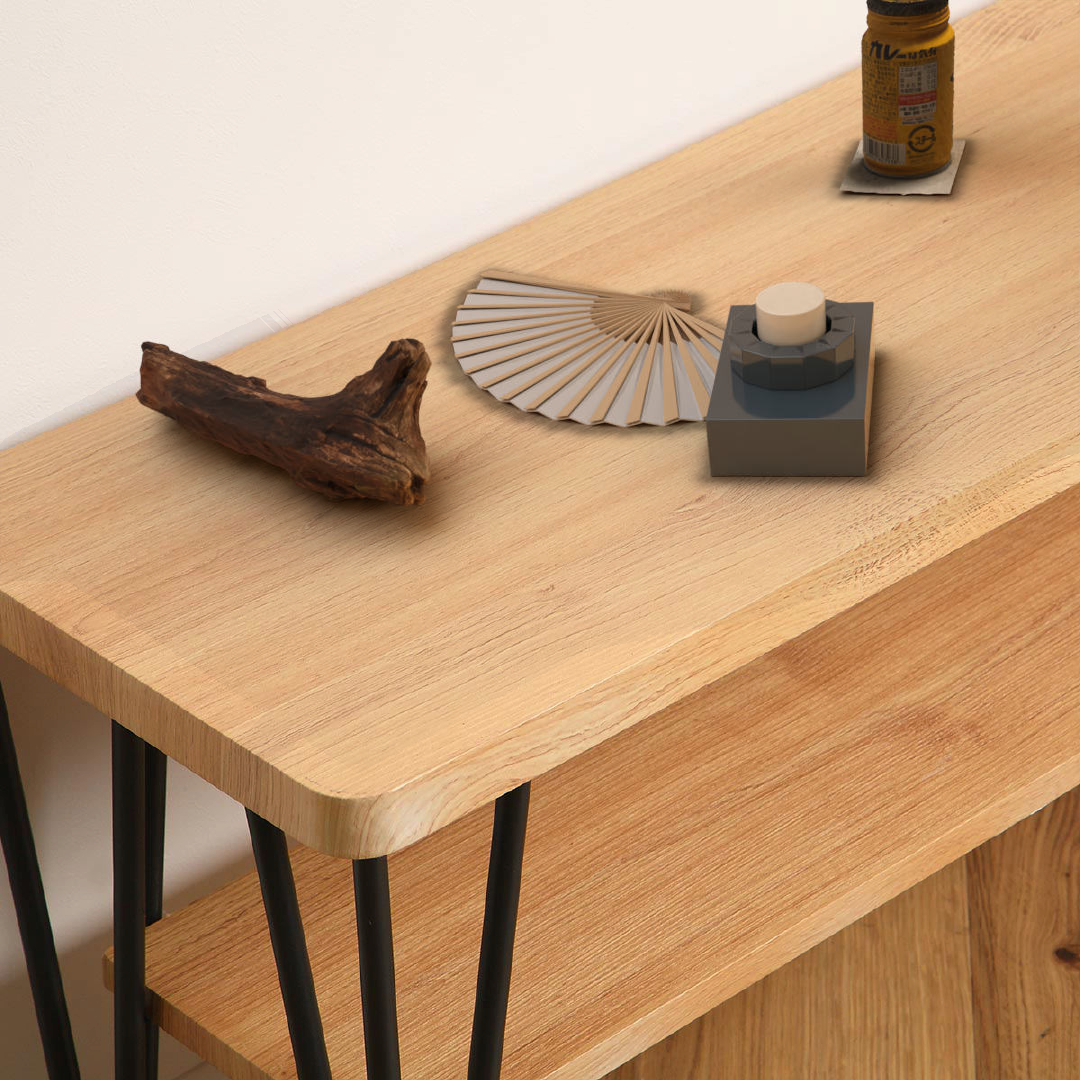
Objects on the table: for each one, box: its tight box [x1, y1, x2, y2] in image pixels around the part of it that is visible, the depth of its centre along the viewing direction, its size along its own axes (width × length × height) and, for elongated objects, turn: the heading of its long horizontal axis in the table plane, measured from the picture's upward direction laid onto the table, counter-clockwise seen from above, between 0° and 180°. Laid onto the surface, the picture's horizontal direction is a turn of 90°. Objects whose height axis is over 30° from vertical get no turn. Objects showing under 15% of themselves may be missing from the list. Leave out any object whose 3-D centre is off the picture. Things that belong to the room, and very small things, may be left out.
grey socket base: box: [705, 298, 876, 477], centre depth 87 cm, size 8×12×6 cm, turn 168°
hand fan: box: [450, 269, 725, 428], centre depth 97 cm, size 26×1×15 cm
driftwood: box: [134, 337, 433, 508], centre depth 89 cm, size 23×8×8 cm, turn 57°
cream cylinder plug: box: [754, 281, 826, 346], centre depth 85 cm, size 4×4×2 cm
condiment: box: [839, 0, 966, 196], centre depth 108 cm, size 7×8×12 cm
